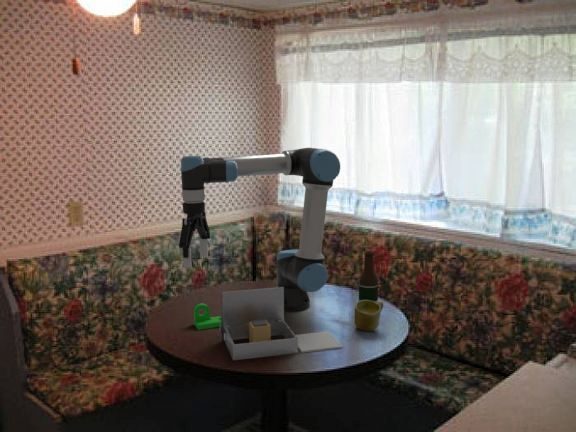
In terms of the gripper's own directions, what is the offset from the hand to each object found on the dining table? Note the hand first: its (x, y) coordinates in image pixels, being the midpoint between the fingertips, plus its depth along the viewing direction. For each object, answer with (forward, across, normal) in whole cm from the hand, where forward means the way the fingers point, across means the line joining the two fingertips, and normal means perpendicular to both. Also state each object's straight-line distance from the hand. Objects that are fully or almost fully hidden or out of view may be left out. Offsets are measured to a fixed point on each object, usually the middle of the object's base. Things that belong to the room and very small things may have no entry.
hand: (196, 261), depth 201 cm
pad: (+26, -3, +42) cm, 50 cm away
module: (+26, +6, +25) cm, 37 cm away
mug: (+27, -21, +58) cm, 67 cm away
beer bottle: (+27, -40, +55) cm, 73 cm away
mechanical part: (+27, -9, +1) cm, 28 cm away
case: (+26, +6, +25) cm, 37 cm away
